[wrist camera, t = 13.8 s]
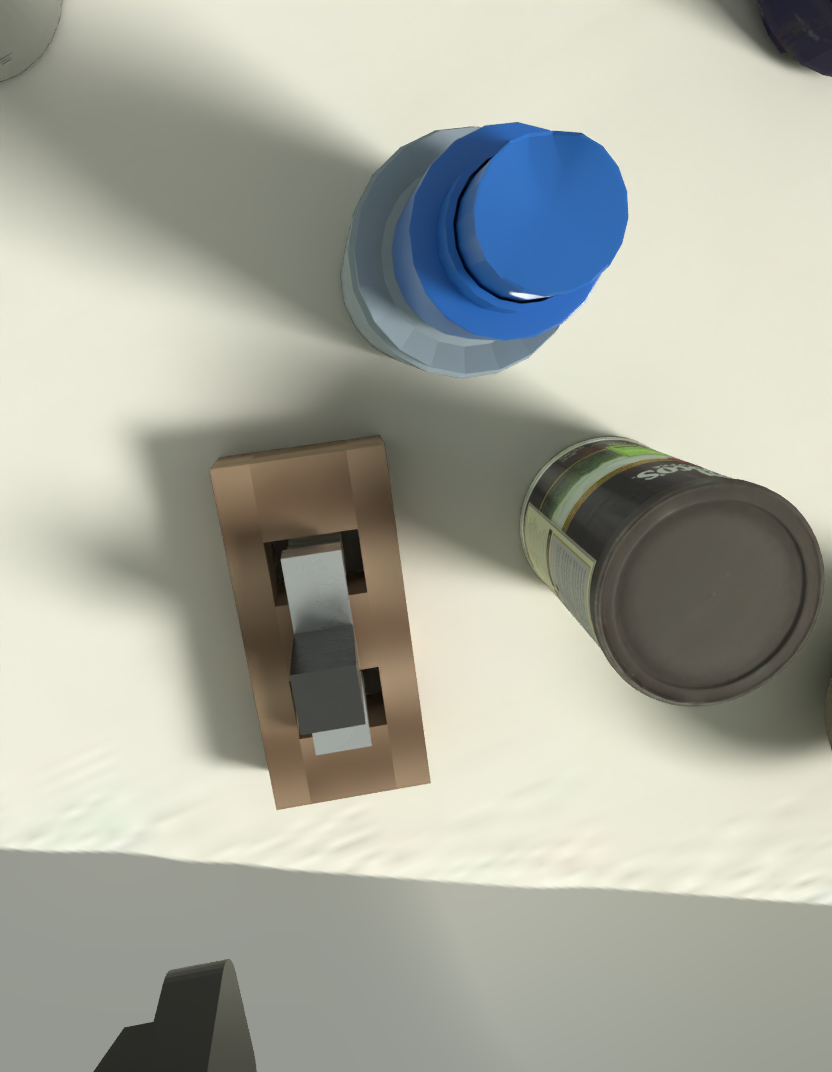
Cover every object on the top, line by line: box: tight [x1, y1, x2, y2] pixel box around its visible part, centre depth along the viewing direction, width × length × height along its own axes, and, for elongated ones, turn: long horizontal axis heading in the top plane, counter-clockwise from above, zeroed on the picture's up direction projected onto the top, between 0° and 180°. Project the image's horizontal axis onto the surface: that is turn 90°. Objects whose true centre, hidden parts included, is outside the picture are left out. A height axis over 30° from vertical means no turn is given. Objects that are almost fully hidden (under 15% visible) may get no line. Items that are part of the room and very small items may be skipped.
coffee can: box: [520, 437, 824, 706], centre depth 40 cm, size 10×10×14 cm
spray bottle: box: [341, 122, 628, 378], centre depth 30 cm, size 9×9×25 cm
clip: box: [281, 531, 372, 755], centre depth 41 cm, size 11×3×12 cm, turn 7°
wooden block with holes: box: [210, 435, 431, 810], centre depth 45 cm, size 20×9×4 cm, turn 7°
